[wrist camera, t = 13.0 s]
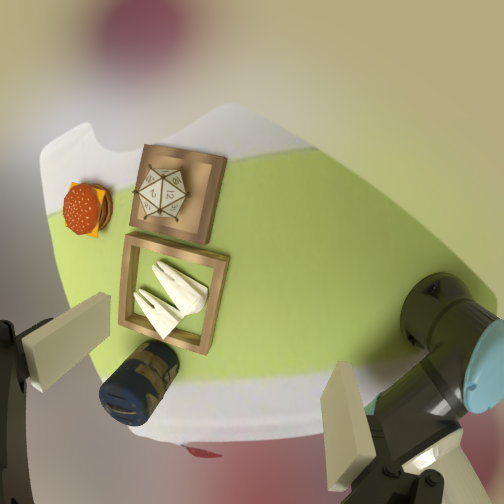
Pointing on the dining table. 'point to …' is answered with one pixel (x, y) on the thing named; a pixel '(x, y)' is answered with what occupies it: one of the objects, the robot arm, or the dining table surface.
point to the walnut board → (196, 183)
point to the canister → (139, 383)
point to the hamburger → (87, 208)
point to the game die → (162, 192)
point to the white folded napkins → (182, 294)
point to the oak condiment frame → (179, 251)
